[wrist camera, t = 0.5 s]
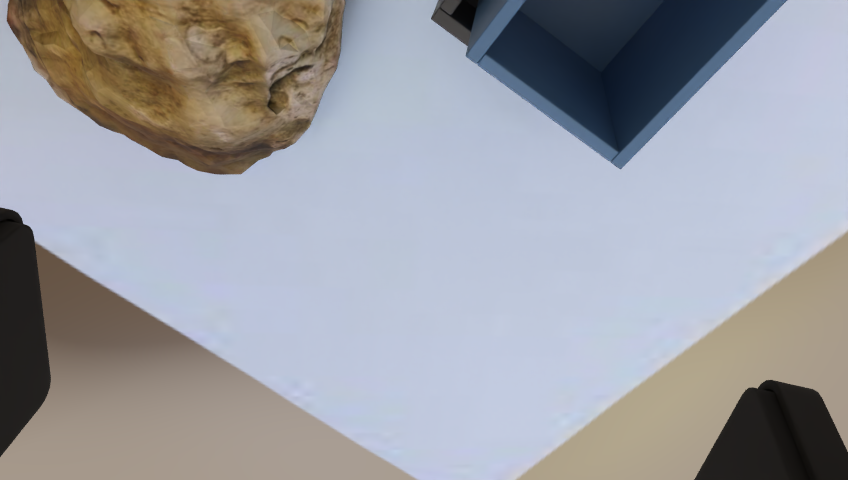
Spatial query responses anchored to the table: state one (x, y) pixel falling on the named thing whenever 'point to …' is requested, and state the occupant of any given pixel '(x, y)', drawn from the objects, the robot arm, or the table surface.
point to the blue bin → (611, 59)
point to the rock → (188, 70)
